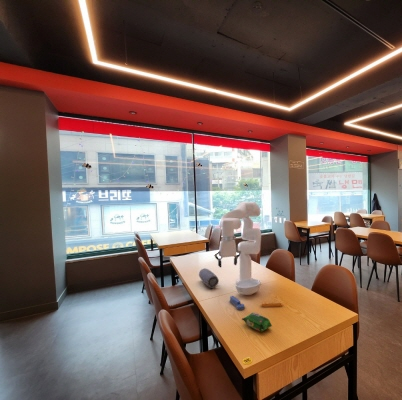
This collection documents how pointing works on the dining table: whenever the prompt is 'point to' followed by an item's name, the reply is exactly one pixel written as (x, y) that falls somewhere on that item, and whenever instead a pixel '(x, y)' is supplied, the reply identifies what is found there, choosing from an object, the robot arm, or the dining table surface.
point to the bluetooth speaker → (208, 278)
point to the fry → (271, 304)
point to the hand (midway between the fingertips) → (227, 265)
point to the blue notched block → (236, 303)
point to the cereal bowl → (248, 286)
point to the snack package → (257, 322)
